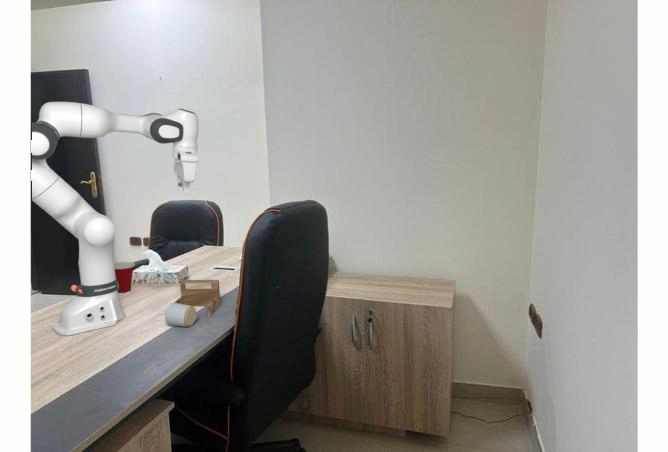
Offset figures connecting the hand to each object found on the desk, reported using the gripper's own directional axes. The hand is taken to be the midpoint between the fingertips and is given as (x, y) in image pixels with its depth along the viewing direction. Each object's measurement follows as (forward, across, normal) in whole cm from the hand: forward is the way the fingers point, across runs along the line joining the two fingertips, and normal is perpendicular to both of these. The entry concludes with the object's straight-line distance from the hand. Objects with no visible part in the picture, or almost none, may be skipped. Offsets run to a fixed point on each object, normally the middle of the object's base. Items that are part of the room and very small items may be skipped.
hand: (183, 189), depth 173 cm
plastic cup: (+51, -22, -18) cm, 58 cm away
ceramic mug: (+41, +31, -4) cm, 52 cm away
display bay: (+42, +21, +3) cm, 47 cm away
